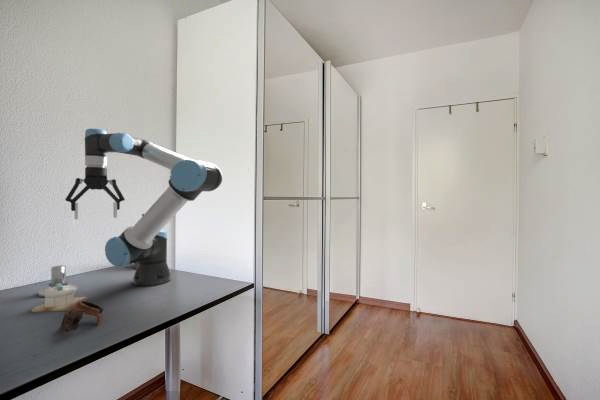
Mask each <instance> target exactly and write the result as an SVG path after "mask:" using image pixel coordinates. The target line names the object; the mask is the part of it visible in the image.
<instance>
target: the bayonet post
mask: <svg viewBox="0 0 600 400" xmlns="http://www.w3.org/2000/svg"><path fill="white" fill-rule="evenodd" d="M66 267H67V266H66V265H63V264H61V265H55V266H51V268H50V269H51V271H50V278H51V279H50V283H48V286H45V287H43V288H41V289H39V290H38V297H41V298H45V290H46V289H49V288H52V287H56V286H57V284H58V283H61V284H62V286H63V285H71V286H74V293H75V292H78V285H79V284H76V283H69V282H66V277H67V276H66V271H67V270H66Z"/></svg>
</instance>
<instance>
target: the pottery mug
mask: <svg viewBox="0 0 600 400" xmlns="http://www.w3.org/2000/svg"><path fill="white" fill-rule="evenodd" d="M103 312H104V308H103V307H101V305H100V306H99V305H98V304H95V303H92V302H89V301H87V300H85V301H79V302H78V304H77V305H74V306H72V307H71V308H69V310H66V312H65V314H64V316H63V318H62V320H61V324H60V327H59V330H60V331H61V332H62V333H64V332H66V333H67V330H68V331H76V330H77V328H78V326H79V323H80V322H81V321H82V319H83V317H84V315H89V316H94V317H96V318H97V321H96V325H97V326H99V325H100V323H101V322H102V319H103V314H102V313H103Z"/></svg>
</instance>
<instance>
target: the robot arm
mask: <svg viewBox="0 0 600 400" xmlns="http://www.w3.org/2000/svg"><path fill="white" fill-rule="evenodd" d="M107 153H117V154H124V155H130V156H136V157H139V158H142V159H144V160H147V161H149V162H150V163H151V162H152V163H153V164H157V165H159V166H161V167H163V168H165V169H168V170H170V176H169V179H168V183H167V184H168V187H167V188H166V190H164V192H163V193H162V194H161V195H160V196H159V197H158V198H157V200H156V201H154V203H153V204H152V205H151V206H150V207H149V208H148V209H147V210H146V212H145V213H143V214H144V215H143V216H142V215H141V218H140V219H138V221H137V222H136V223H135V224H134V225H133V226H127V228H125V229H124V230H123V232H121V234H119V236H113V237H110V238H109V239H108V240H107V241H106V242H105V245H104V252H105V257H106V259H107V261H108V262H109V263H110V264H111V265H112V266H114V267H117V268H119V267H120V268H121V267H127V266H129V265H132V264H135V263H137V262H138V266H137V269H136V268H135V272H134V276H133V278H132V283H133V285H135V286H139V287H141V286H142V287H143V286H144V287H149V286H156V285H157V286H158V285H161V284H162V285H163V284H165V283H168V282H170V281H171V280H172V275H171V271H170V268H169V265H168V263H167V262H168V261H167V259H168V258H167V257H168V254H167V251H168V248H167V246H168V237H167V235H168V234H167V231H166V230H164V229H163V228H164V227H165V226H166V225H167V224H168V223H169V222H170V221H171V220H172V219H173V218H174V216H175V215H177V213H178V212H179V211H180V210H181V209H183V207H184V206H185V205H186V204H187V203H188V202H193V201H195V200H196V199H197V198H198V197H199V195H200V194H201V193H202V192H212V191H215V190H216V189H218V188H219V187H220V186H221V184H222V182H223V173H222V170H221V168H220V167H218V166H217V165H216V164H214V163H212V162H207V161H203V160H198V159H194V158H189V157H188V156H187V157H186V156H184V155H182V154H179V153H176V152H174V151H172V150H169V149H167V148H164V147H161V146H160V145H157V144H153V142H151V141H149V140H146V139H141V138H137V137H132V136H130V134H128V133H123V132H114V133H107V131H106V130H104V129H100V128H87V129H85V131H84V154H85V155H84V157H85V158H84V165H85V166H86V167H85V168H84V178H80V177H77V178H75V181H74V185H73V187H72V188H71V190H70V191H69V192H68V194H67V196H66V197H65V200H64V201H66V202H70V203H71V204H70V209H71V212H74V220H78V219H79V203H78V202H77V201H78V200H79V199H81V197H82V196H83V195H85V193H87V191H89V189H90V190H99V191H100V190H103V191H105V192H106V193H107V194H108V195H109V196H110V197H111V198H112V200H113V201H114V202H113V204H112V205H113V218H115V219H117V218H118V210H120V208H121V205H120V203H121V202H124V201H125V197H124V196H123V194H122V192H121V190H120V189H119V187H118V185H117V180H116V179H108V169H107V166H108V154H107ZM82 183H84V184H85V185H86V186H85V187H84V188H82V189H81V190H80V191H79V192H78V193H77V194H76V195H75V196H74V194H75V193H76V192H77V189H78V188H79V186H80V185H81V184H82ZM108 183H109V184H110V185H111V187H112V188H113V190H114V192H115V193H116V194H114V193H113V191H111V189H109V187H108V186H107V185H108ZM116 195H117V196H118V197H117V196H116ZM162 229H163V230H162Z"/></svg>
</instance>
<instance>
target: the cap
mask: <svg viewBox="0 0 600 400" xmlns="http://www.w3.org/2000/svg"><path fill="white" fill-rule="evenodd" d="M74 297H75V292H74V286H71V285H63V286H62V284H61V283H58V284H57V286H56V287H52V288H49V289H46V290H45V297H44V303H45V307H58V306H63V305H67V304H70V303H72V302H74Z"/></svg>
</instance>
